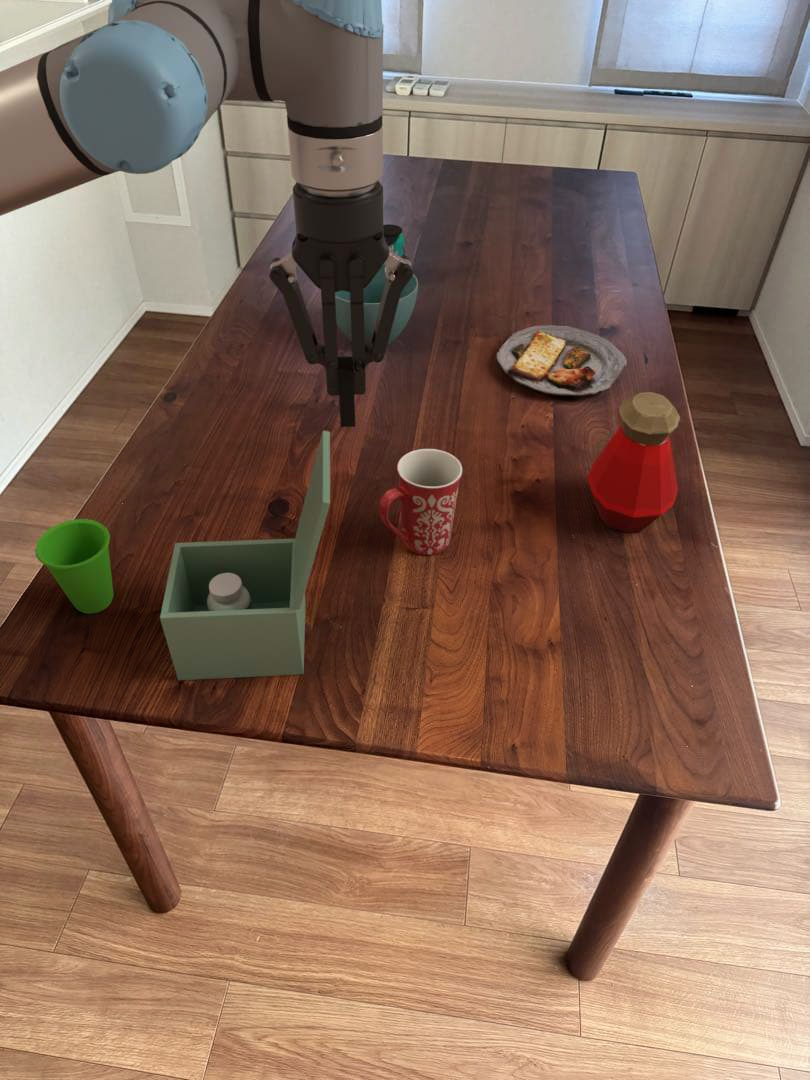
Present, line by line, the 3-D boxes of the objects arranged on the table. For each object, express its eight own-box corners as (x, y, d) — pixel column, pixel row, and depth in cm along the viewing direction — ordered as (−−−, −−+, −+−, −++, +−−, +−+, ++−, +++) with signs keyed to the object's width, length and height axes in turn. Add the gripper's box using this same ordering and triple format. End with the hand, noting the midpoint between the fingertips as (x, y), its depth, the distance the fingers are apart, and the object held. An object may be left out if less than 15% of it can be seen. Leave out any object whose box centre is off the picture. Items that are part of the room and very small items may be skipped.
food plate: (593, 417, 143) (597, 400, 140) (477, 381, 151) (478, 364, 149) (636, 356, 159) (640, 340, 156) (529, 326, 167) (531, 310, 164)
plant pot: (309, 336, 162) (305, 279, 154) (376, 309, 171) (376, 254, 163) (366, 372, 153) (365, 313, 144) (434, 341, 162) (437, 284, 153)
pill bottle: (262, 623, 105) (254, 572, 98) (247, 654, 101) (238, 603, 94) (224, 616, 106) (213, 565, 99) (208, 646, 102) (195, 595, 95)
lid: (322, 502, 81) (330, 503, 81) (322, 430, 90) (329, 431, 90) (292, 609, 91) (299, 610, 92) (295, 535, 101) (301, 535, 101)
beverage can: (409, 278, 182) (410, 226, 174) (396, 291, 178) (397, 238, 170) (381, 272, 184) (381, 220, 176) (368, 284, 180) (367, 232, 172)
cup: (54, 629, 105) (28, 570, 97) (65, 580, 111) (41, 521, 104) (125, 621, 106) (104, 563, 98) (131, 573, 112) (112, 515, 105)
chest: (178, 680, 99) (159, 618, 91) (190, 605, 108) (174, 542, 100) (303, 674, 100) (296, 612, 92) (305, 600, 109) (299, 538, 101)
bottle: (671, 553, 117) (709, 443, 103) (579, 540, 119) (604, 431, 105) (665, 487, 128) (699, 380, 115) (581, 476, 130) (604, 369, 116)
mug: (434, 511, 123) (437, 440, 114) (468, 545, 118) (475, 473, 108) (364, 540, 118) (362, 469, 109) (396, 577, 113) (397, 505, 103)
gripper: (255, 199, 62) (282, 442, 78) (420, 197, 63) (413, 438, 79) (260, 166, 68) (285, 400, 84) (412, 165, 69) (408, 397, 85)
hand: (347, 419), depth 82 cm, fingers closed
